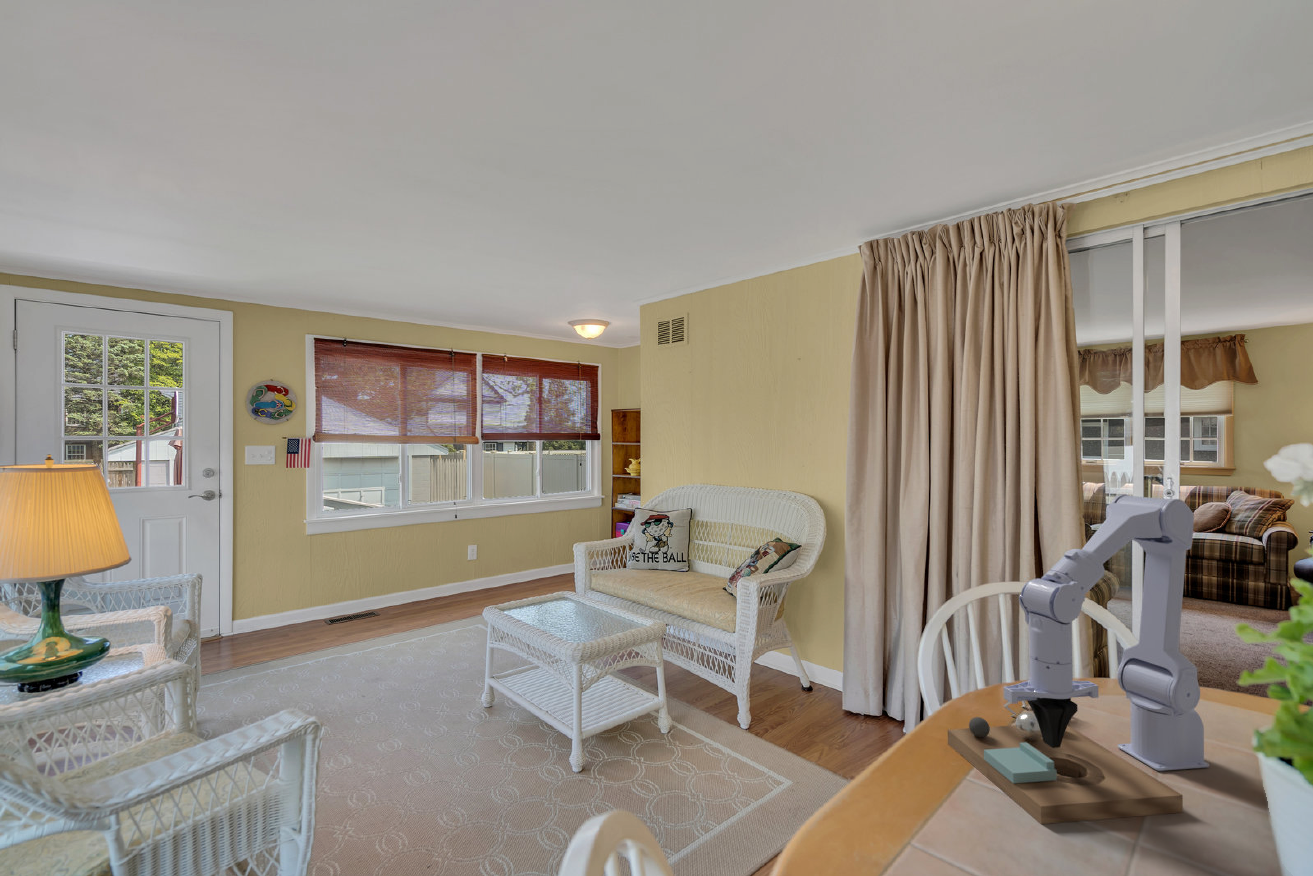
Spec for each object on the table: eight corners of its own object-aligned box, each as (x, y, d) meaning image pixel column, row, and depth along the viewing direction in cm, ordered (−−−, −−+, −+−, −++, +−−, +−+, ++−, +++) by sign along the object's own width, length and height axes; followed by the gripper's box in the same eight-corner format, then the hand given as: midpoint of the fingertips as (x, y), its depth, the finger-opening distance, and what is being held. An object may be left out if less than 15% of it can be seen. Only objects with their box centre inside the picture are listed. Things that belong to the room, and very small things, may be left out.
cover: (1024, 756, 101) (1024, 741, 101) (1056, 780, 94) (1056, 763, 94) (983, 759, 100) (983, 743, 100) (1013, 783, 93) (1013, 766, 93)
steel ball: (1033, 732, 109) (1033, 707, 109) (1051, 744, 105) (1051, 718, 105) (1009, 733, 109) (1009, 708, 109) (1027, 746, 104) (1027, 720, 104)
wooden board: (1062, 736, 113) (1062, 722, 113) (1182, 812, 90) (1182, 795, 90) (947, 743, 110) (947, 729, 110) (1041, 824, 88) (1040, 806, 88)
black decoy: (982, 731, 110) (982, 713, 110) (993, 740, 106) (993, 721, 106) (965, 732, 109) (964, 714, 109) (976, 741, 106) (976, 722, 106)
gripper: (1073, 646, 102) (1074, 729, 102) (990, 651, 101) (991, 735, 101) (1109, 662, 95) (1110, 751, 95) (1020, 668, 94) (1021, 758, 94)
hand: (1051, 744), depth 97 cm, fingers closed
